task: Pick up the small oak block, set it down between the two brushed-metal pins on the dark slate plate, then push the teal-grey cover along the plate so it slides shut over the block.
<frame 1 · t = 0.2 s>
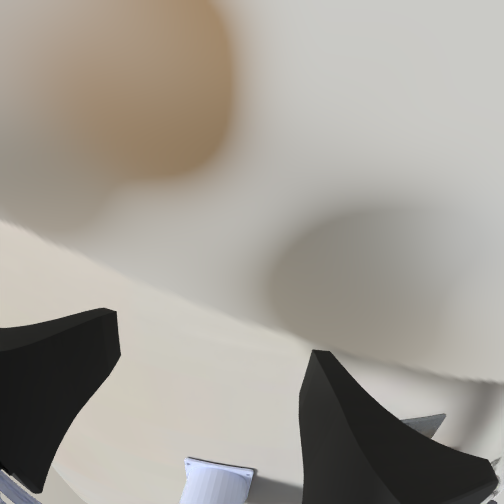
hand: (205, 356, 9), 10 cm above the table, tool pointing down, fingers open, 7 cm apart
base plate: (375, 465, 23), on the table
bluetooth speaker: (474, 501, 28), on the table
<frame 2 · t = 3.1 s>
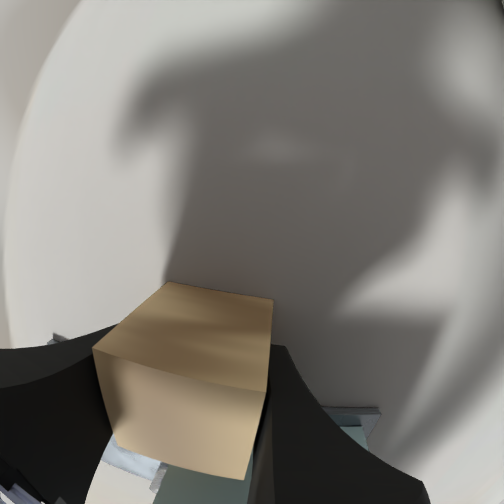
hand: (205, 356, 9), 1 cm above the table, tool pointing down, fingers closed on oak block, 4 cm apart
oak block: (214, 337, 10), on the table, touching gripper
base plate: (195, 452, 12), on the table
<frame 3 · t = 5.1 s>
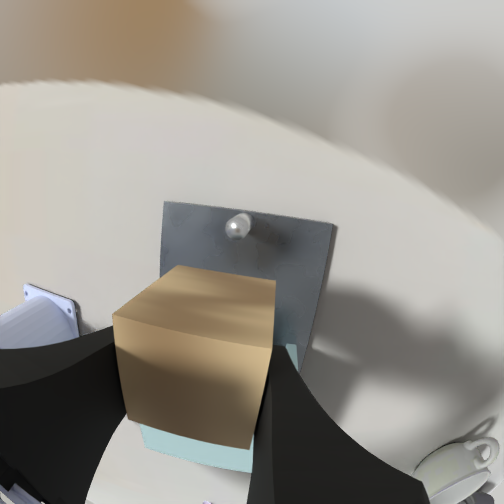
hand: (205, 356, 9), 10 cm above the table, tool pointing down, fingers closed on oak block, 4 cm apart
teacup: (445, 449, 22), on the table
cover: (218, 403, 17), point 4 cm above the table, slide at 0.0 cm
oak block: (220, 317, 11), point 7 cm above the table, touching gripper
base plate: (232, 331, 20), on the table
bluetooth speaker: (463, 494, 25), on the table
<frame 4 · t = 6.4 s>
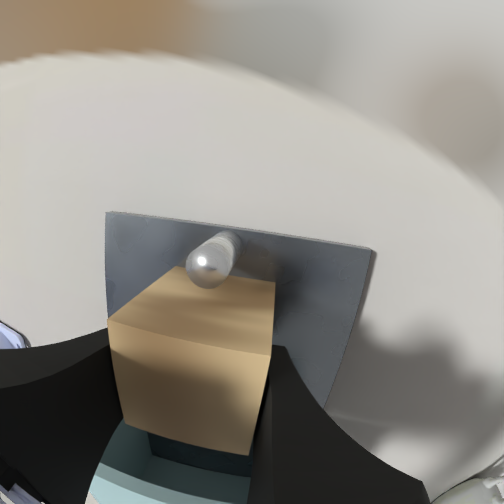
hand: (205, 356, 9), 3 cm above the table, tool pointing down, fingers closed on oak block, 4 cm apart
teacup: (461, 485, 15), on the table
cover: (197, 485, 10), point 4 cm above the table, slide at 0.0 cm
oak block: (219, 320, 11), resting on base plate, touching gripper
base plate: (214, 396, 13), on the table
when the fingers open (3 cm above the table, at t = 6.4 s): oak block stays where it is, resting on base plate.
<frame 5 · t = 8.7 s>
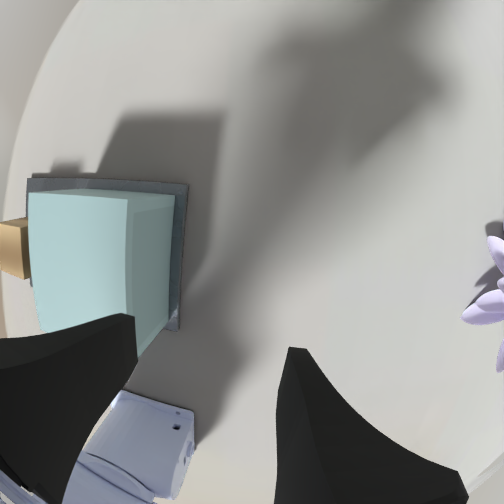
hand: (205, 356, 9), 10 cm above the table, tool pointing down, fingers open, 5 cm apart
water lily: (501, 269, 17), on the table
cover: (99, 264, 16), point 4 cm above the table, slide at 0.0 cm
oak block: (48, 238, 20), resting on base plate
base plate: (88, 245, 20), on the table
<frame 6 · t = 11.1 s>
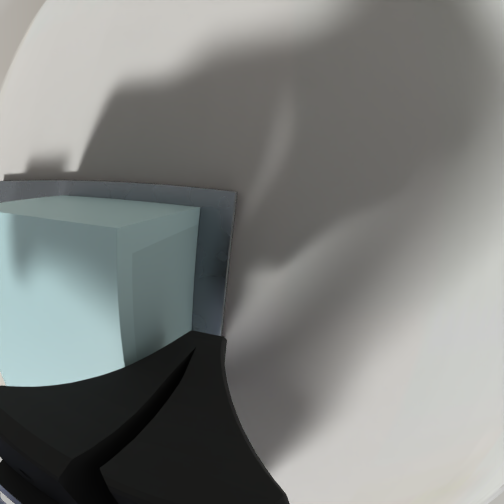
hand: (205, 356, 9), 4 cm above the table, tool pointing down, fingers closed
cover: (82, 319, 10), point 4 cm above the table, slide at 0.7 cm, touching gripper
base plate: (78, 278, 13), on the table
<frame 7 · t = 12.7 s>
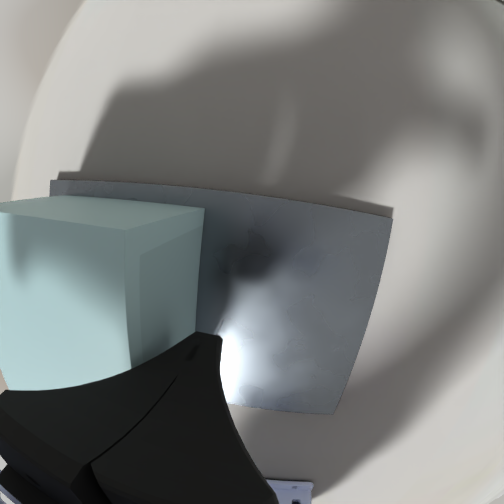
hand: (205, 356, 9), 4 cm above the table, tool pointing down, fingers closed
cover: (86, 320, 10), point 4 cm above the table, slide at 7.3 cm, touching gripper
base plate: (184, 303, 13), on the table
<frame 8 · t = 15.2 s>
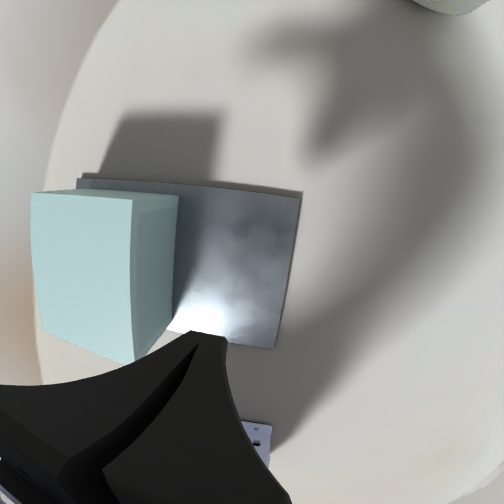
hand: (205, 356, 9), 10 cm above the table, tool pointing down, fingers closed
cover: (102, 265, 16), point 4 cm above the table, slide at 7.2 cm
base plate: (166, 259, 20), on the table
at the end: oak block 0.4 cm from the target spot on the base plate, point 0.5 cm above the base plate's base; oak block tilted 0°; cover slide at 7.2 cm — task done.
